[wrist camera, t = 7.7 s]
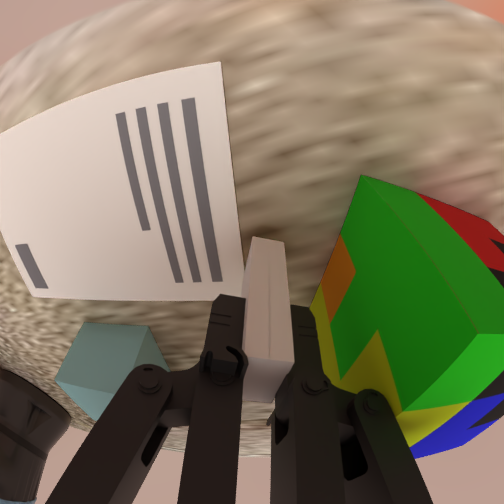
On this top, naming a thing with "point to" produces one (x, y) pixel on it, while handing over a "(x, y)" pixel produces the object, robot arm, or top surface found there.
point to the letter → (126, 193)
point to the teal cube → (105, 363)
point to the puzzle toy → (416, 314)
